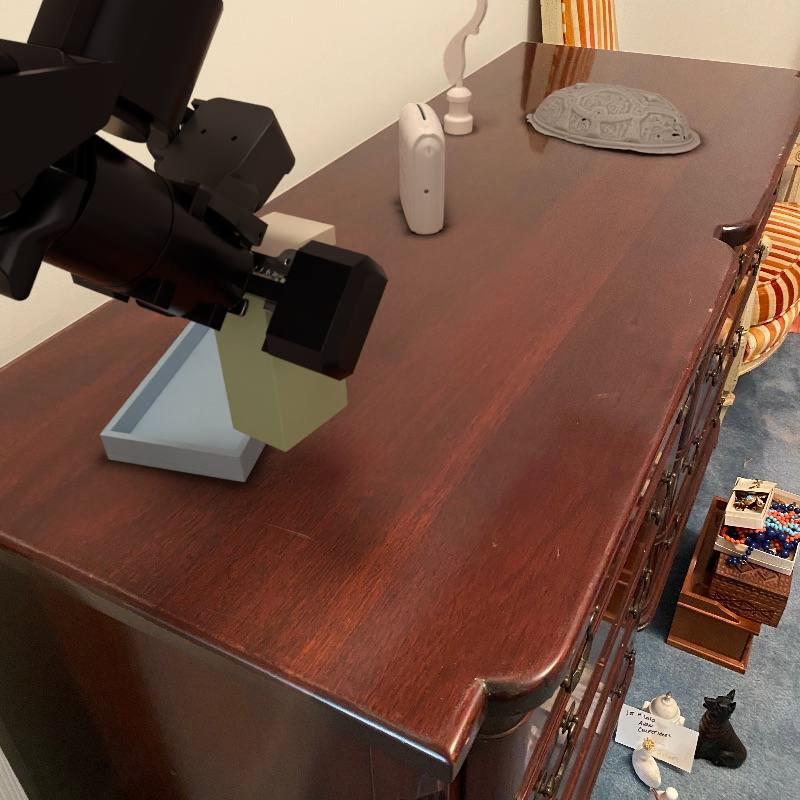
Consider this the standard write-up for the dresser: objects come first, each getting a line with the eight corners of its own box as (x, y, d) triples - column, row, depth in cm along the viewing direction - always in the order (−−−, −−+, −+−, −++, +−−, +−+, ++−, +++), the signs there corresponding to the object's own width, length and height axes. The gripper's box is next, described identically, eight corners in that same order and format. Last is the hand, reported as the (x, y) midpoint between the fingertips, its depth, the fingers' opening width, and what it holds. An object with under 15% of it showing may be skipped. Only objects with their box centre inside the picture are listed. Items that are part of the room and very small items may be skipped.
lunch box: (286, 454, 48) (257, 263, 41) (230, 429, 51) (194, 245, 44) (350, 405, 53) (335, 225, 46) (296, 384, 55) (273, 211, 48)
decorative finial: (436, 131, 110) (439, -71, 94) (450, 122, 112) (454, -76, 96) (473, 138, 107) (482, -68, 91) (485, 128, 110) (497, -73, 94)
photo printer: (447, 234, 85) (450, 123, 77) (409, 237, 85) (408, 126, 77) (431, 195, 93) (433, 91, 85) (397, 197, 93) (395, 93, 85)
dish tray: (244, 482, 56) (239, 457, 54) (108, 459, 58) (99, 434, 56) (355, 281, 78) (353, 259, 76) (253, 270, 80) (249, 248, 78)
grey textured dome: (677, 161, 98) (688, 106, 94) (506, 133, 110) (510, 83, 106) (713, 136, 108) (724, 86, 105) (554, 113, 121) (558, 67, 117)
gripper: (357, 91, 31) (468, 230, 45) (47, 36, 38) (227, 170, 53) (260, 348, 31) (403, 406, 45) (-33, 242, 38) (169, 320, 52)
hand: (294, 315), depth 49 cm, fingers closed on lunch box, 5 cm apart
